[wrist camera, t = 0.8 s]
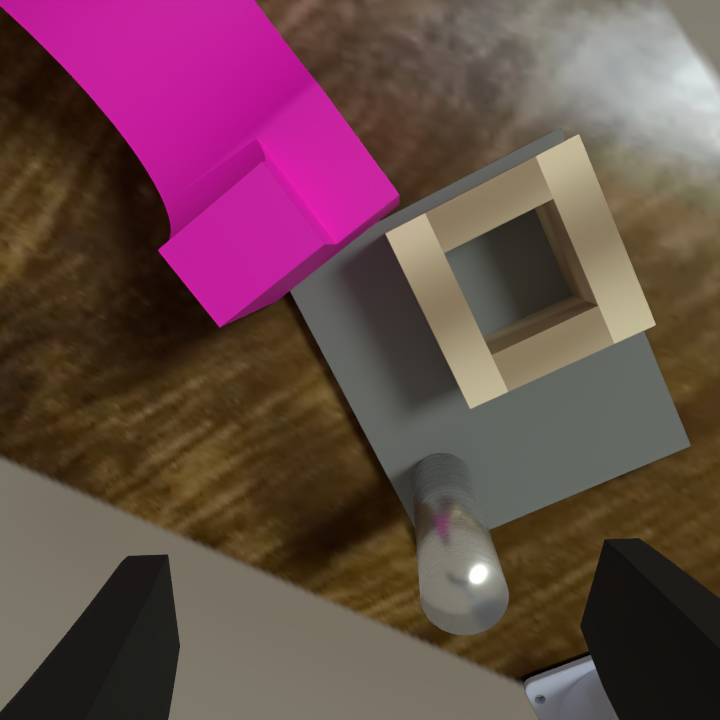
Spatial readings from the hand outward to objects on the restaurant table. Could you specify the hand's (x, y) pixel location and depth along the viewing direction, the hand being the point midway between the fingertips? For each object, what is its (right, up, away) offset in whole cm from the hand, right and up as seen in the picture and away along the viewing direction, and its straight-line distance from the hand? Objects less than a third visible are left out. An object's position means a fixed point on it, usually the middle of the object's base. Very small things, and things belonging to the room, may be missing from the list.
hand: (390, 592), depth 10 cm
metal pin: (+3, -1, +15) cm, 16 cm away
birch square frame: (+5, +7, +13) cm, 16 cm away
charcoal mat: (+5, +4, +14) cm, 16 cm away
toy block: (-6, +14, +13) cm, 20 cm away
